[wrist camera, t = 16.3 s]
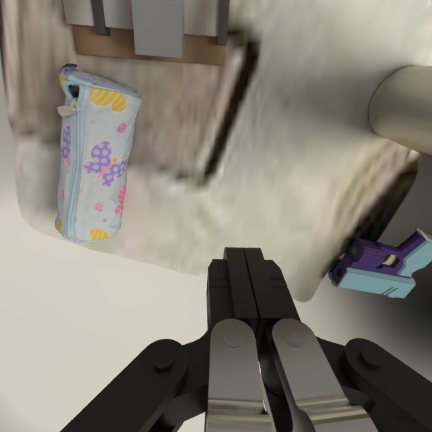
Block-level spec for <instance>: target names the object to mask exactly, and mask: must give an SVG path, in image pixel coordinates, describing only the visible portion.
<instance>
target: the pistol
mask: <svg viewBox="0 0 432 432" xmlns="http://www.w3.org/2000/svg"><path fill="white" fill-rule="evenodd" d="M415 230H416V232H415V233H414V234H412V235H411V236H410V237H409V238H408V239H407V240H405V241H404V242H403V243H402V244H401V245H399V246H398V247H393V246H389V245H384V244H382V243H380V242H372V241H368V240H363V239H358V238H355V240H354V241H353V243H352V245H351V246H350V248H349V249H348V253H345V255H344V257H343V258H338V260H337V261H336V262H335V263H334V265H333V266H332V267H331V269H330V270H329V272H328V275H329V278H330V280H331V281H332V284H333V285H334V286H336V287H341V288H347V289H354V290H359V291H365V292H371V293H377V294H382V295H387V296H388V297H393V298H395V297H400V298H405V297H406V295H407V294H408V293H409V292H410V291H411V290H412V288H413V287H414V286H415V285H416V284H415V280H414V279H413V278H412V277H411V275H412V273H413V272H414V271H416V270H418V269H421V268H424V267H425V266H426V265H427V264H428V263H429V262H431V261H432V236H429V235H427V234H425V233H423V232H422V231H421V230H419V229H418V228H415ZM386 254H388V255H387V256H386ZM385 256H386V257H385Z"/></svg>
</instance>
